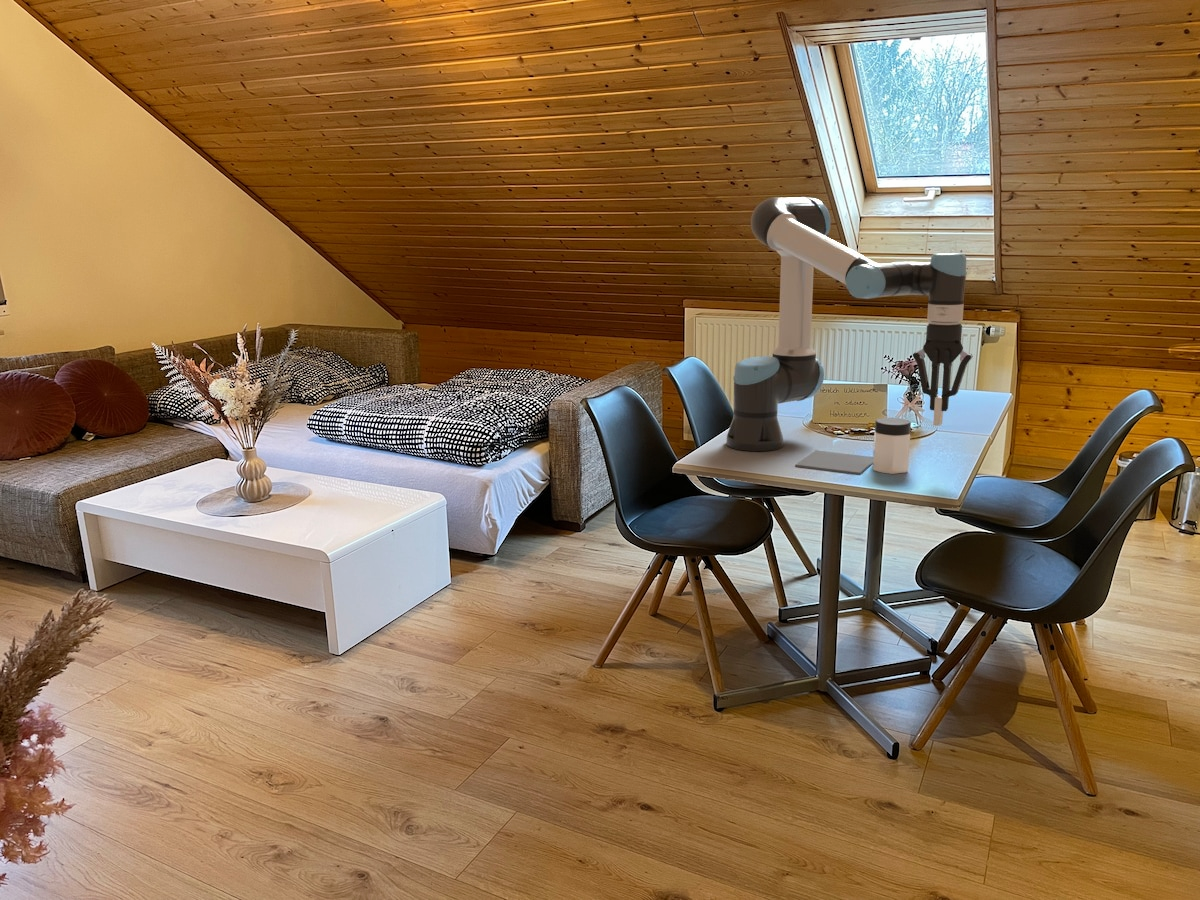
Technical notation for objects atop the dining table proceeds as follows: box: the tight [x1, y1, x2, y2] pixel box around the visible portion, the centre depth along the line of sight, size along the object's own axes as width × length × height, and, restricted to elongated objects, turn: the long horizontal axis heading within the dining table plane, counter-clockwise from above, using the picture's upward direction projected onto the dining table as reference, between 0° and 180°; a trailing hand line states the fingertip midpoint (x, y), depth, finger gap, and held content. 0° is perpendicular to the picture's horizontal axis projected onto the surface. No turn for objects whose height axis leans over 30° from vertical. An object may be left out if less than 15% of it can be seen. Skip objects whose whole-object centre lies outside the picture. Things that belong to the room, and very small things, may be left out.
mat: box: [794, 449, 873, 476], centre depth 224 cm, size 16×16×1 cm
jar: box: [872, 417, 912, 475], centre depth 216 cm, size 9×8×12 cm
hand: (937, 424), depth 209 cm, fingers closed
